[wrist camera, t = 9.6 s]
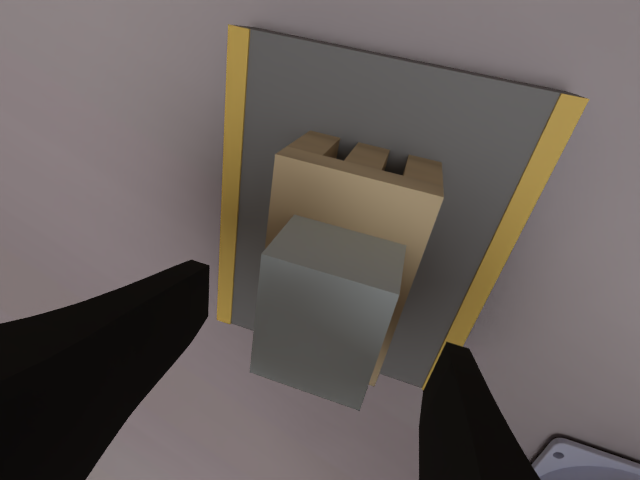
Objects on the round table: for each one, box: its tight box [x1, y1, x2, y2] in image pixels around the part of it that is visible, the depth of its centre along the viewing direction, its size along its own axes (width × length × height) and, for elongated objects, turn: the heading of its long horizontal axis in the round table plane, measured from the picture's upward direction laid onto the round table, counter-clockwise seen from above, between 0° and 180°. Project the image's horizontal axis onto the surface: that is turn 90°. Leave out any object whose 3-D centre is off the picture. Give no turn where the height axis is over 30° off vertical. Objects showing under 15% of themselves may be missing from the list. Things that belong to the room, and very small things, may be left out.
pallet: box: [265, 131, 444, 386], centre depth 14 cm, size 8×5×4 cm, turn 171°
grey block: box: [250, 215, 406, 411], centre depth 11 cm, size 4×4×3 cm
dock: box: [217, 25, 589, 390], centre depth 16 cm, size 14×12×2 cm
